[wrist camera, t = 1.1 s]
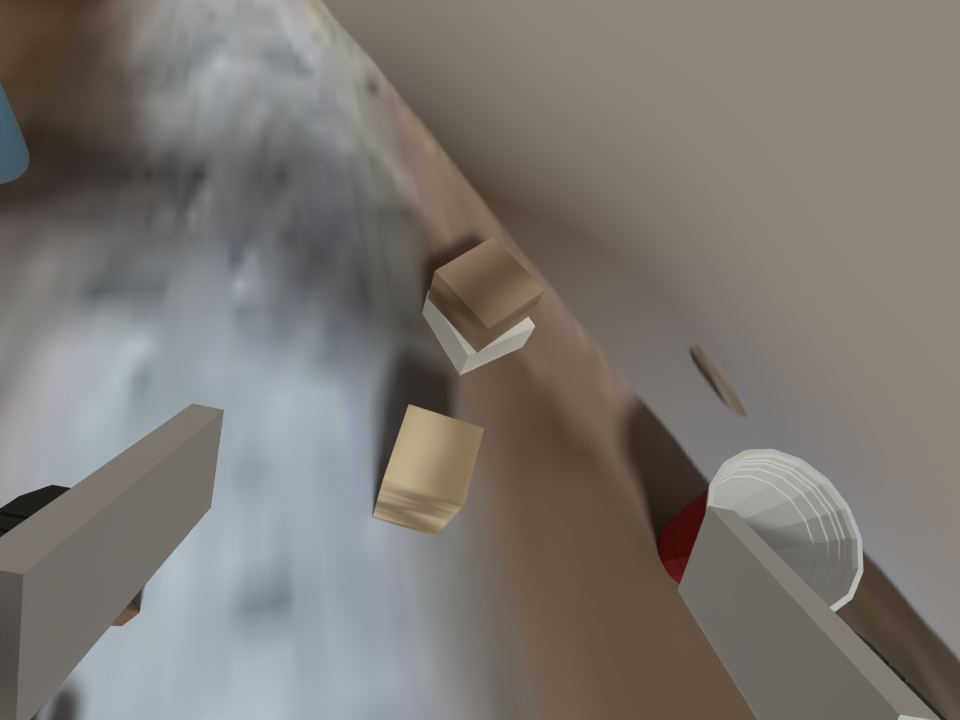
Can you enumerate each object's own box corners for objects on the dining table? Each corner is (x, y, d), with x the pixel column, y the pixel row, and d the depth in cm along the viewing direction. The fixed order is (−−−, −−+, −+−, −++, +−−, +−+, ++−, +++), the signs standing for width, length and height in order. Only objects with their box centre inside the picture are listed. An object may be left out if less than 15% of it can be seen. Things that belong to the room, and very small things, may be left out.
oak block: (372, 517, 41) (383, 479, 32) (393, 456, 44) (408, 404, 34) (435, 536, 42) (464, 504, 32) (452, 474, 44) (483, 428, 35)
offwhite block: (421, 314, 51) (427, 290, 47) (484, 290, 54) (494, 266, 50) (459, 376, 49) (468, 356, 45) (521, 347, 52) (535, 326, 48)
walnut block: (427, 298, 47) (434, 270, 43) (482, 265, 50) (492, 236, 46) (477, 353, 46) (488, 329, 42) (530, 315, 49) (545, 290, 45)
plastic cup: (626, 478, 48) (706, 432, 37) (737, 499, 49) (844, 460, 39) (628, 614, 42) (723, 605, 32) (753, 633, 44) (881, 630, 34)
